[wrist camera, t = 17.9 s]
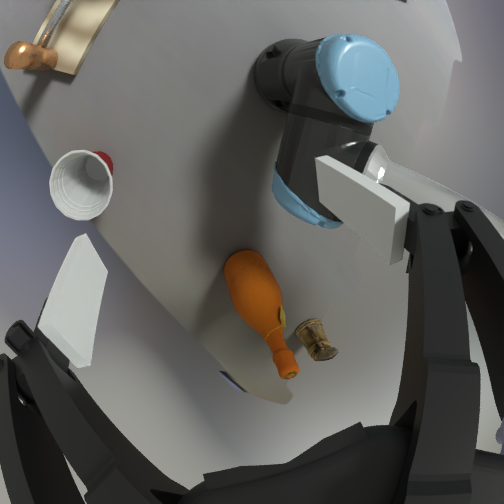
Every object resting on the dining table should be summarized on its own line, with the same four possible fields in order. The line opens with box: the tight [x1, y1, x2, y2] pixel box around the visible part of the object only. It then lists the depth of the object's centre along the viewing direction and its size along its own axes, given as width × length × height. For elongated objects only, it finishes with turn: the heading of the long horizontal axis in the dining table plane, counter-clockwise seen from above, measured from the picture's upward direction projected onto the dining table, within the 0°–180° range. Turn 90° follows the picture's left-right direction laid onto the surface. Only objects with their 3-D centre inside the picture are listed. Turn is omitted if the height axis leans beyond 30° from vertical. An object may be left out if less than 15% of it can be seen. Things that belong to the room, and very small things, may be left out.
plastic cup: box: [49, 150, 113, 220], centre depth 38 cm, size 11×11×12 cm
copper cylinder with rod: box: [4, 0, 73, 71], centre depth 19 cm, size 19×4×12 cm, turn 150°
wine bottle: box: [224, 250, 299, 379], centre depth 51 cm, size 10×10×30 cm
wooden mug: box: [295, 319, 338, 361], centre depth 75 cm, size 9×14×18 cm, turn 16°
